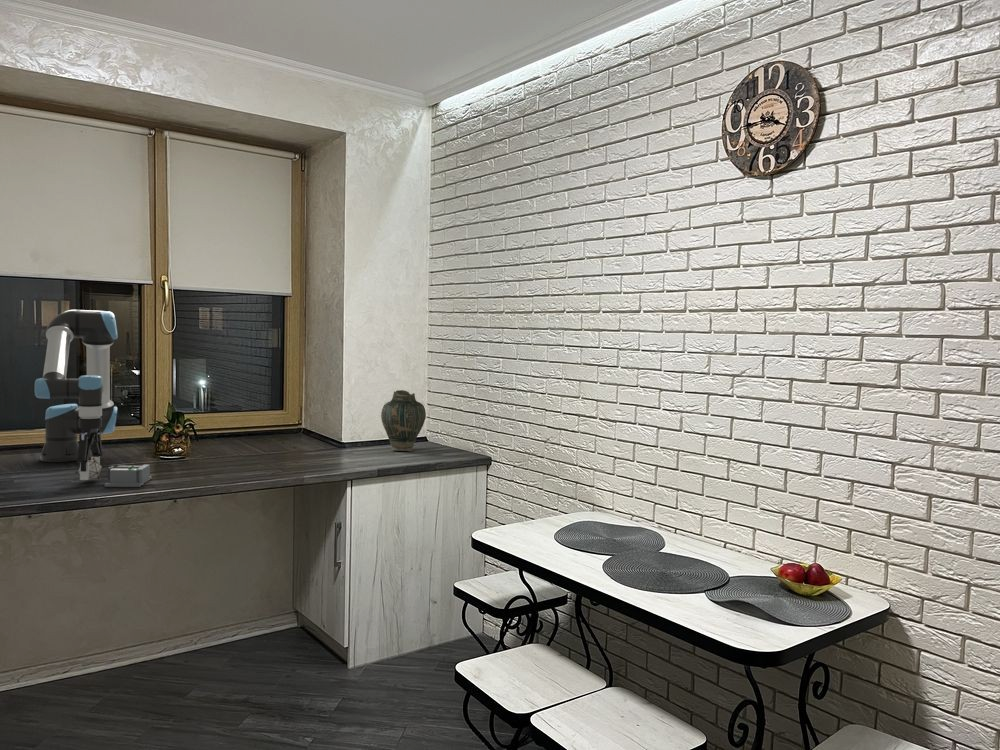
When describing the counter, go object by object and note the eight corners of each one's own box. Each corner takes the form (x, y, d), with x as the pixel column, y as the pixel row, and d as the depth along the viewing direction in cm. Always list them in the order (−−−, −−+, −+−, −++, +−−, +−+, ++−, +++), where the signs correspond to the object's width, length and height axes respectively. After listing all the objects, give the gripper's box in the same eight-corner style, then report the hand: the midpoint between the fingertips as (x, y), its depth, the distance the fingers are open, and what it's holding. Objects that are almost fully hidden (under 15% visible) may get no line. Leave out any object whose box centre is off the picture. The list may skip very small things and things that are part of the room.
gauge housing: (118, 478, 276) (118, 462, 276) (151, 478, 278) (151, 463, 278) (104, 486, 262) (104, 470, 262) (139, 486, 264) (139, 470, 264)
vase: (379, 446, 371) (381, 388, 369) (422, 446, 375) (424, 389, 373) (380, 454, 349) (382, 392, 347) (426, 454, 354) (428, 393, 352)
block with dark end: (112, 477, 271) (112, 463, 271) (138, 477, 273) (138, 464, 273) (104, 481, 264) (105, 467, 264) (131, 481, 266) (131, 467, 266)
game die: (84, 490, 267) (65, 470, 263) (94, 478, 274) (76, 458, 270) (104, 480, 265) (85, 460, 261) (113, 468, 273) (95, 448, 269)
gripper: (91, 413, 277) (91, 470, 278) (66, 421, 255) (66, 483, 256) (112, 413, 278) (112, 470, 280) (89, 421, 256) (88, 483, 258)
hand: (90, 476), depth 268 cm, fingers closed on game die, 10 cm apart
